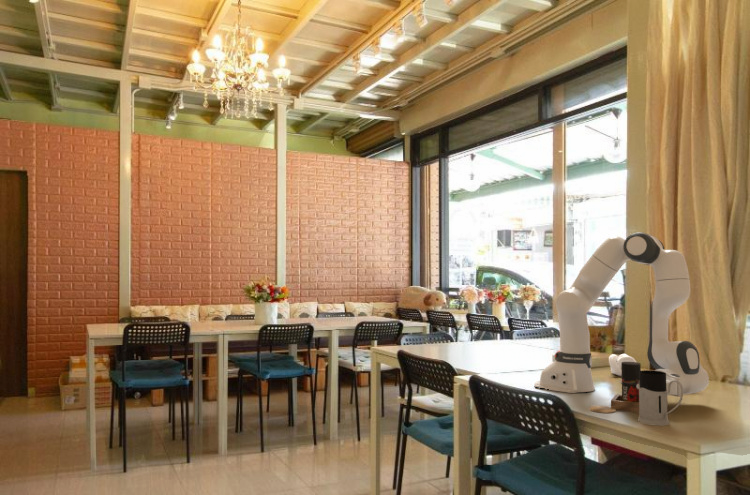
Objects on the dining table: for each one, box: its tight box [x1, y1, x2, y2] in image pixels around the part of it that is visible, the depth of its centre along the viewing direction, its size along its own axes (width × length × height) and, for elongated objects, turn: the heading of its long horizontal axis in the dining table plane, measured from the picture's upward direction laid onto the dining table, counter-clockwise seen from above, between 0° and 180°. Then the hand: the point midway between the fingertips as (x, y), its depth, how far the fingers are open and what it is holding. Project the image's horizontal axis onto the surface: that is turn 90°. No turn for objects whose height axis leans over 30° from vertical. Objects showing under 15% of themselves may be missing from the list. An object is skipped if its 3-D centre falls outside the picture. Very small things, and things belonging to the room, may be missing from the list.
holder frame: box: [610, 393, 639, 414], centre depth 199 cm, size 11×11×3 cm
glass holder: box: [637, 369, 684, 426], centre depth 180 cm, size 9×14×15 cm, turn 28°
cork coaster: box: [589, 405, 616, 414], centre depth 196 cm, size 8×8×1 cm
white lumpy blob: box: [608, 353, 637, 378], centre depth 260 cm, size 11×12×9 cm
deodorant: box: [621, 361, 642, 403], centre depth 199 cm, size 6×6×15 cm
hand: (629, 384), depth 199 cm, fingers closed on deodorant, 6 cm apart
